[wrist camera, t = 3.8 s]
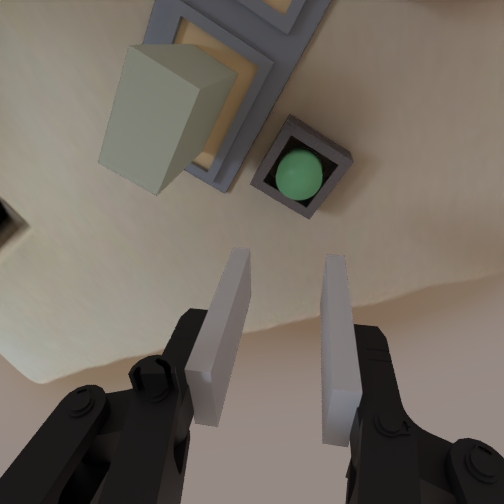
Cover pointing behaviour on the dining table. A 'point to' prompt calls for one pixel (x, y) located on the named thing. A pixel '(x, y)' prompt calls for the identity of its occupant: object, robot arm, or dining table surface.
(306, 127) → the button housing
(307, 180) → the button
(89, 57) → the dining table surface
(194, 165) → the grey flat frame
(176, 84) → the carton
